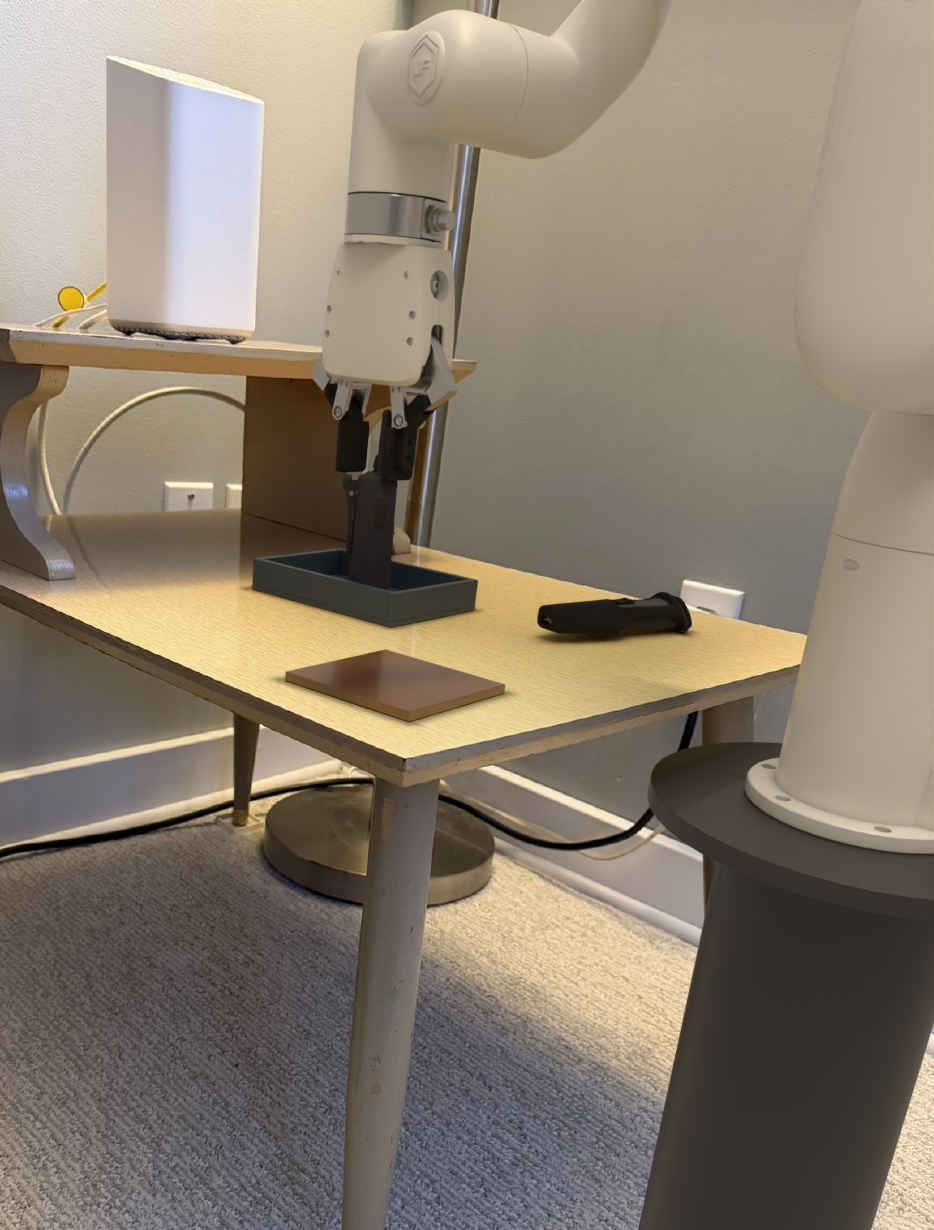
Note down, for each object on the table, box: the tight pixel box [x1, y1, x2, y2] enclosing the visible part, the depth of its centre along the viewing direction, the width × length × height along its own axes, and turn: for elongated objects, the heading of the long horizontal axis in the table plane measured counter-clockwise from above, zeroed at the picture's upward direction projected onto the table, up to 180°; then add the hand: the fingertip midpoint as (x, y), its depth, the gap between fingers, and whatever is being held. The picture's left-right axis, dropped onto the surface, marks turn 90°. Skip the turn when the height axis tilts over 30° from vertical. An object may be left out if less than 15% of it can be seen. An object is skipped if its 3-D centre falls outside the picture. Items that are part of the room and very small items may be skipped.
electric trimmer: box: [536, 591, 693, 637], centre depth 92 cm, size 4×16×3 cm, turn 123°
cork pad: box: [284, 648, 506, 722], centre depth 74 cm, size 10×10×1 cm
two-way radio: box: [342, 408, 399, 591], centre depth 95 cm, size 6×4×15 cm
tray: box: [251, 547, 479, 628], centre depth 97 cm, size 15×11×3 cm
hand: (373, 473), depth 94 cm, fingers closed on two-way radio, 4 cm apart
